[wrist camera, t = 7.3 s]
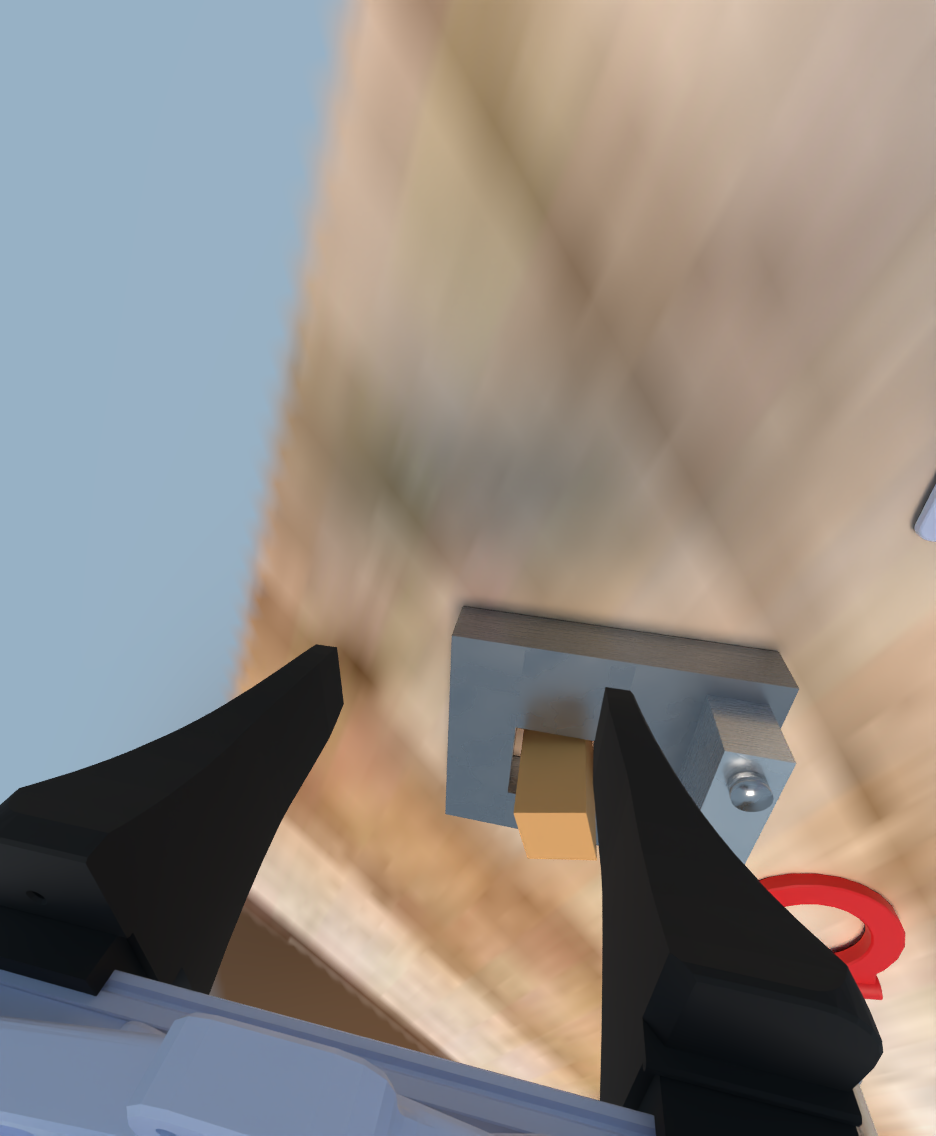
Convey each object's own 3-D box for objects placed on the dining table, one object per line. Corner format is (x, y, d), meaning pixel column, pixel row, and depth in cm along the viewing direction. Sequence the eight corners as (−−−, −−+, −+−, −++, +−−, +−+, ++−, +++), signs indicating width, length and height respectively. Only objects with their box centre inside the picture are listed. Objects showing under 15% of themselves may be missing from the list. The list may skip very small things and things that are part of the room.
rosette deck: (778, 651, 22) (839, 761, 17) (704, 826, 28) (733, 948, 23) (462, 606, 24) (430, 691, 19) (454, 777, 30) (428, 879, 25)
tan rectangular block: (584, 707, 26) (586, 812, 21) (593, 751, 27) (596, 860, 22) (526, 711, 27) (513, 812, 21) (537, 752, 28) (527, 858, 23)
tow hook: (716, 862, 30) (725, 965, 34) (810, 1238, 18) (808, 1335, 21) (899, 866, 27) (887, 976, 31) (1159, 1308, 15) (1087, 1404, 19)
